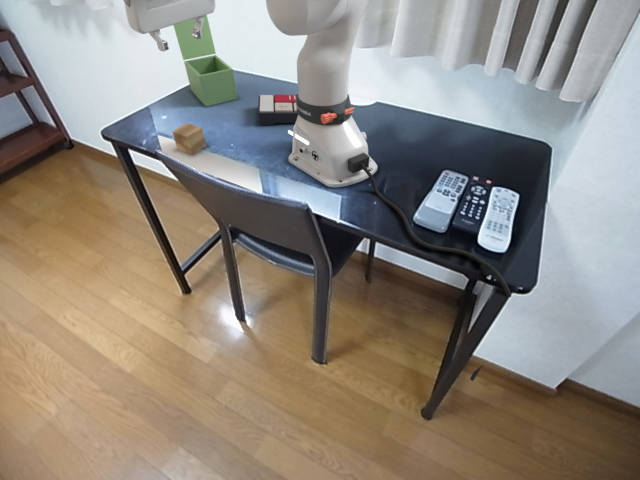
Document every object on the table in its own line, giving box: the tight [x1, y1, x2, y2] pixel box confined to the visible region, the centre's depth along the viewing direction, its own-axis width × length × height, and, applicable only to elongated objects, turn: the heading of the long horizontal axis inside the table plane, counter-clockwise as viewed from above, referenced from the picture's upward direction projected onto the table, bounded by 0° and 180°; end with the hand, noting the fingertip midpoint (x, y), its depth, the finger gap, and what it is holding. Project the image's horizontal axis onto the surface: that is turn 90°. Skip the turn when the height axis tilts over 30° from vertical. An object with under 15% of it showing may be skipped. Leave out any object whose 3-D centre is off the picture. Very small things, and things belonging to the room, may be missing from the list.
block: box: [172, 122, 207, 156], centre depth 92 cm, size 5×5×5 cm
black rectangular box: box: [257, 94, 298, 126], centre depth 105 cm, size 11×4×15 cm
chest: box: [183, 54, 238, 107], centre depth 113 cm, size 14×10×9 cm
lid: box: [173, 14, 217, 61], centre depth 110 cm, size 14×10×1 cm
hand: (181, 43), depth 84 cm, fingers open, 8 cm apart
